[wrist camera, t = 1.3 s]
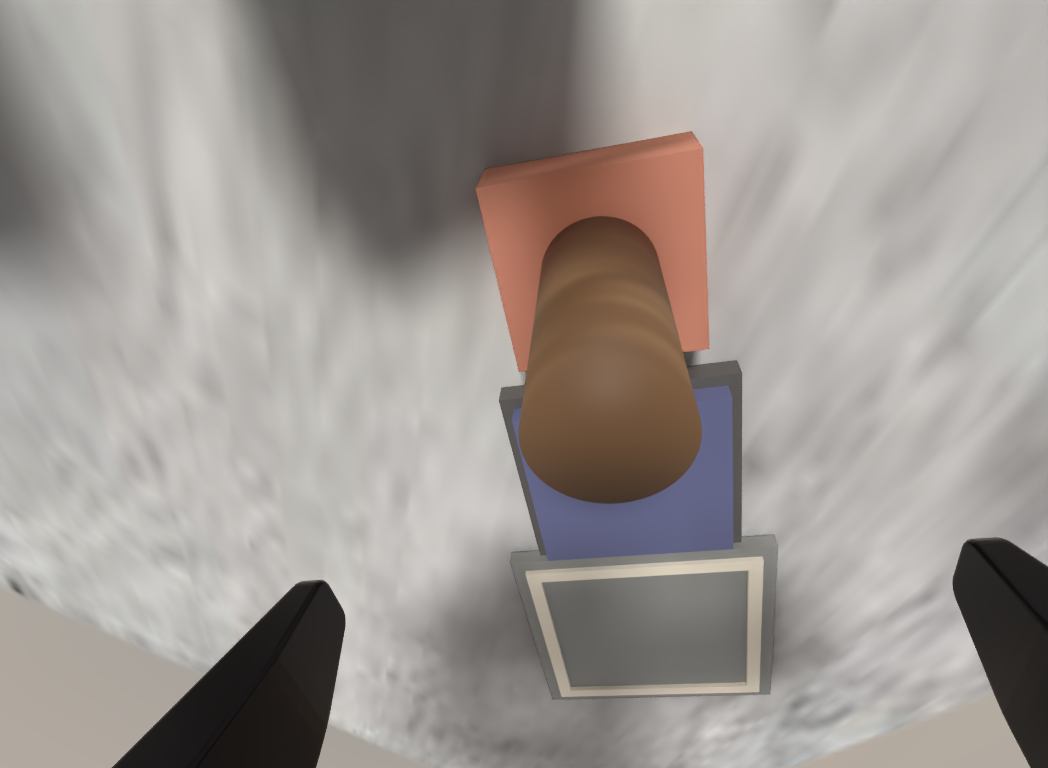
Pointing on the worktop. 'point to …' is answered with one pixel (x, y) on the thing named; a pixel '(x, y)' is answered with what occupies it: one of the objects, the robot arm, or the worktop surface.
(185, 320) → the worktop surface
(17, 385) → the worktop surface
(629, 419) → the stamp
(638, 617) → the marked board
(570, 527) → the ink pad
